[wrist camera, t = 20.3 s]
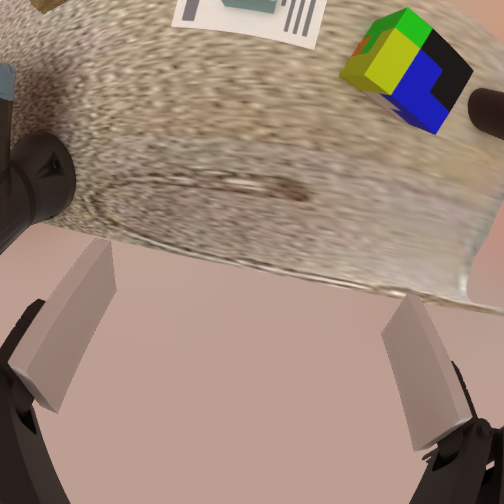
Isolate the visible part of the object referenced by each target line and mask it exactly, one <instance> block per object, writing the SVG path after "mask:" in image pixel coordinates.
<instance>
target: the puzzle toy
mask: <svg viewBox="0 0 504 504" xmlns="http://www.w3.org/2000/svg"><path fill="white" fill-rule="evenodd" d="M472 73H473V69H472V68H471V67H470V66H469V65H468V64H467V63H466V61H465V60H464V59H463V58H462V57H461V56H460V55H459V54H458V53H457V52H456V51H455V50H454V49H453V48H452V47H451V46H450V45H449V44H448V43H447V42H446V41H445V40H444V39H443V38H442V37H441V36H440V35H439V34H438V33H437V32H436V31H435V30H434V29H433V28H432V27H431V26H429V25H428V24H427V23H426V22H425V21H424V20H423V19H421V18H420V17H419V16H418V15H417V14H416V13H414V12H413V11H412V10H411V9H409V8H405V9H403V10H400V11H398V12H395V13H393V14H390V15H388V16H386V17H383V18H381V19H379V20H377V21H375V22H374V23H373V25H372V26H371V28H370V29H369V31H368V32H367V34H366V35H365V37H364V38H363V40H362V41H361V43H360V44H359V46H358V47H357V49H356V50H355V52H354V53H353V55H352V56H351V58H350V59H349V61H348V63H347V64H346V66H345V67H344V69H343V70H342V72H341V73H340V75H339V76H340V77H341V78H343V79H344V80H346V81H347V82H349V83H350V84H351V85H353V86H354V87H356V88H357V89H359V90H360V91H361V92H363V93H364V94H366V95H367V96H368V97H370V98H371V99H372V100H374V101H375V102H376V103H378V104H379V105H380V106H382V107H383V108H384V109H385V110H387V111H388V112H389V113H391V114H392V115H393V116H394V117H395V118H397V119H398V120H400V121H403V122H405V123H408V124H410V125H413V126H415V127H418V128H420V129H423V130H425V131H427V132H430V133H432V134H434V135H436V133H437V131H438V130H439V128H440V127H441V125H442V124H443V122H444V120H445V119H446V117H447V116H448V114H449V112H450V111H451V109H452V108H453V106H454V104H455V103H456V101H457V99H458V98H459V96H460V94H461V92H462V91H463V89H464V87H465V86H466V84H467V82H468V80H469V79H470V77H471V75H472Z"/></svg>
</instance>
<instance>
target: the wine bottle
mask: <svg viewBox="0 0 504 504" xmlns="http://www.w3.org/2000/svg"><path fill="white" fill-rule="evenodd" d="M469 114H470V118H471V120H472V122H473V124H474V125H475V126H476V127H477V128H478V129H480V130H481V131H483V132H486V133H488V134H490V135H493V136H495V137H497V138H499V139H502V140H504V93H502V92H498V91H494V90H489V89H485V88H481V89H477V90H475V91H474V92H473V93H472V95H471V97H470V100H469Z"/></svg>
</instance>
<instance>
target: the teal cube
mask: <svg viewBox="0 0 504 504" xmlns="http://www.w3.org/2000/svg"><path fill="white" fill-rule="evenodd" d="M221 1H222V2H223V4H224V6H225V7H233V8H241V9H248V10H254V11H260V12H266V13H271V14H274V10H275V6H276V2H277V0H221Z"/></svg>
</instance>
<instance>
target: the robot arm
mask: <svg viewBox="0 0 504 504" xmlns="http://www.w3.org/2000/svg"><path fill="white" fill-rule="evenodd" d="M15 77H16V73H15V69H14V67H13V66H12V65H11V64H9V63H0V255H1V254H2V253H3V252H4V251H5V250H6V249H7V247H9V246H10V245H11V244H12V242H13V241H15V239H17V237H19V235H21V234H22V233H23V232H24V231H25V230H26V229H27V228H28V227H29V226H30V225H33V224H36V223H39V222H41V221H43V220H49V219H52V218H54V217H56V216H57V215H59V214H60V213H61V212H62V211H63V210H65V209H66V208H67V206H68V205H69V204H70V202H71V200H72V198H73V195H74V191H75V171H74V166H73V163H72V160H71V157H70V155H69V153H68V151H67V149H66V148H65V146H64V145H63V144H62V142H61V141H60V140H59V139H57V138H56V137H55V136H53V135H52V134H49V133H47V132H35V133H32V134H30V135H27V136H25V137H23V138H22V139H20V140H19V141H18V142H17V143H16V144H15V145H14V147H13V148H12V149H11V150H10V135H11V120H12V110H13V102H14V101H15V98H14V86H15ZM115 293H116V284H115V277H114V268H113V259H112V249H111V241H107V240H102V239H97V238H95V239H94V240H93V242H92V243H91V244H90V245H89V246H88V248H87V249H86V250H85V251H84V252H83V254H82V255H81V256H80V257H79V258H78V260H77V261H76V262H75V264H74V265H73V266H72V267H71V269H70V270H69V271H68V272H67V274H66V275H65V276H64V278H63V279H62V280H61V282H60V283H59V284H58V286H57V287H56V288H55V290H54V291H53V293H52V294H51V295H50V297H49V298H48V300H47V301H44V300H41V299H37V300H36V301H35V302H33V303H32V304H31V305H29V306H28V307H27V309H26V310H25V312H24V313H23V315H22V316H21V319H19V320H18V322H17V323H16V326H15V327H14V328H13V329H12V331H11V332H10V334H9V335H8V337H7V338H6V340H5V342H4V343H3V345H2V346H1V348H0V504H1V503H2V504H70V502H69V500H68V498H67V496H66V494H65V492H64V489H63V487H62V485H61V483H60V481H59V479H58V476H57V474H56V472H55V469H54V467H53V464H52V462H51V459H50V457H49V454H48V451H47V449H46V446H45V443H44V441H43V438H42V434H41V431H40V428H39V425H38V421H37V418H36V415H35V411H34V408H33V406H32V403H33V401H34V399H35V400H36V401H37V402H38V403H39V405H40V406H42V407H44V408H46V409H48V410H50V411H52V412H55V413H58V411H59V409H60V406H61V403H62V401H63V399H64V396H65V394H66V392H67V389H68V387H69V385H70V383H71V380H72V378H73V376H74V373H75V371H76V369H77V367H78V365H79V363H80V361H81V358H82V356H83V354H84V352H85V350H86V348H87V346H88V344H89V342H90V340H91V338H92V336H93V334H94V332H95V330H96V328H97V326H98V324H99V322H100V320H101V318H102V316H103V314H104V313H105V311H106V309H107V307H108V305H109V303H110V302H111V300H112V298H113V296H114V294H115ZM381 335H382V338H383V341H384V344H385V347H386V351H387V354H388V357H389V360H390V363H391V366H392V370H393V373H394V376H395V380H396V383H397V386H398V390H399V393H400V397H401V401H402V404H403V408H404V412H405V416H406V419H407V424H408V427H409V432H410V436H411V441H412V445H413V450H414V452H416V451H420V450H425V449H428V448H430V447H431V446H433V445H434V444H436V443H437V445H438V447H437V448H436V449H434V450H433V451H431V452H429V453H428V454H426V455H424V457H423V458H422V460H425V459H427V458H428V457H430V456H431V458H430V459H428V460H427V461H426V462H427V463H428V465H427V468H426V470H425V472H424V474H423V477H422V479H421V481H420V483H419V485H418V487H417V489H416V491H415V493H414V495H413V497H412V499H411V501H410V503H409V504H504V426H503V427H502V428H500V429H496V428H492V427H491V426H490V424H489V422H487V421H486V420H485V419H483V418H480V419H478V417H477V414H476V412H475V409H474V406H473V403H472V401H471V398H470V395H469V393H468V390H467V389H466V385H465V383H464V381H463V378H462V375H461V373H460V371H459V369H458V368H457V366H456V365H455V364H454V362H453V361H451V360H450V358H449V356H448V354H447V351H446V349H445V347H444V345H443V343H442V341H441V338H440V336H439V334H438V332H437V330H436V328H435V326H434V324H433V322H432V320H431V318H430V316H429V314H428V312H427V310H426V308H425V306H424V304H423V303H422V301H421V299H420V297H419V296H417V295H411V294H406V296H405V298H404V299H403V301H402V303H401V304H400V306H399V308H398V309H397V311H396V312H395V314H394V315H393V317H392V318H391V320H390V321H389V323H388V324H387V326H386V327H385V329H384V330H383V332H382V333H381ZM494 460H495V461H494ZM492 461H494V466H493V467H492V468H490V469H488V470H486V465H487V464H489V463H491V462H492Z"/></svg>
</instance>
